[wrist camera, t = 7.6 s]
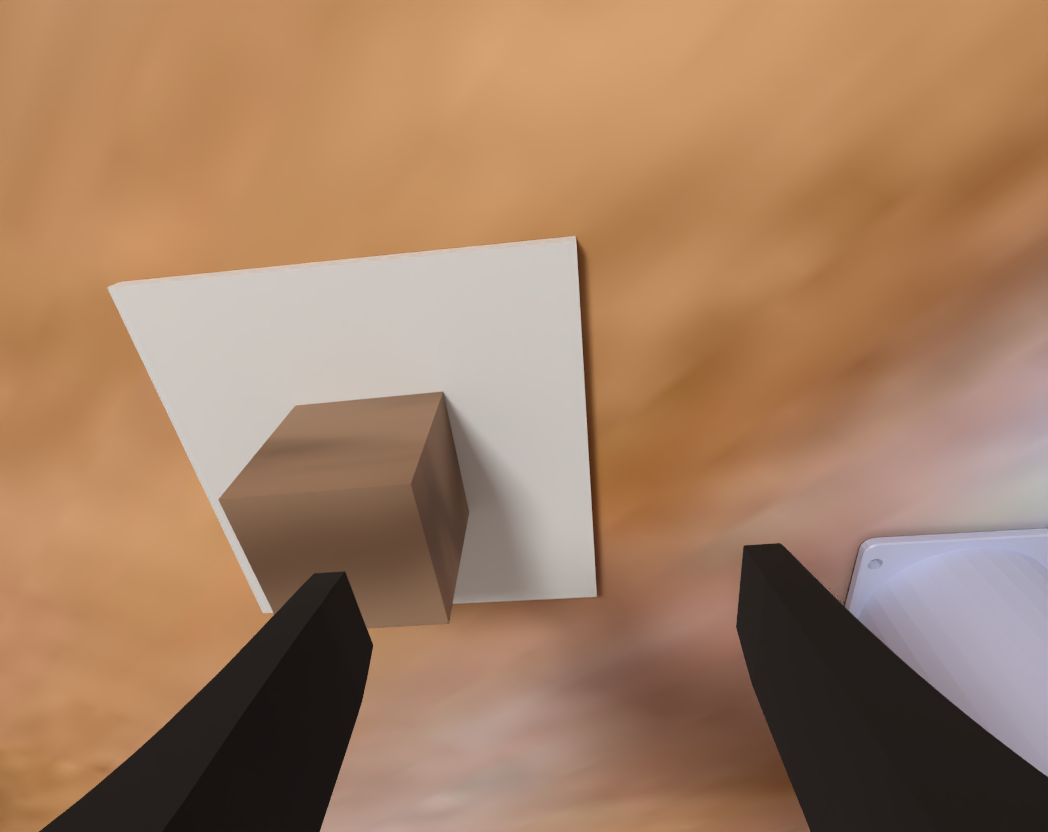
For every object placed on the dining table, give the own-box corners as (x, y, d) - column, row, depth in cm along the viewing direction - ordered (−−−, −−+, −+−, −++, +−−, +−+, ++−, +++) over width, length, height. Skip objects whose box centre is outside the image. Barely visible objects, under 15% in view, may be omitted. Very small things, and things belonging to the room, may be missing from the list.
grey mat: (595, 585, 23) (596, 596, 22) (268, 602, 24) (263, 613, 23) (575, 235, 16) (576, 240, 16) (120, 281, 17) (107, 287, 17)
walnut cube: (469, 512, 20) (448, 623, 16) (338, 522, 21) (283, 633, 17) (442, 391, 18) (410, 484, 14) (295, 405, 18) (218, 499, 14)
